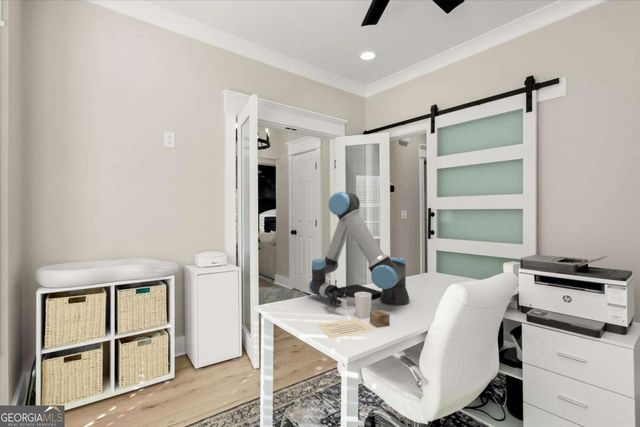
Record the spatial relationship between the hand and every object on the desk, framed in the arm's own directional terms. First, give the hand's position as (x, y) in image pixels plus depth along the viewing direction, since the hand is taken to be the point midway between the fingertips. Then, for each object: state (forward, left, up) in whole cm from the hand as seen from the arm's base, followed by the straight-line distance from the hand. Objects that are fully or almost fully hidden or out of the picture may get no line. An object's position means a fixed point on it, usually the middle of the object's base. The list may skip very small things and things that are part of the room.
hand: (357, 301), depth 146 cm
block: (-2, +16, -6) cm, 17 cm away
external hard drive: (-17, -28, -7) cm, 33 cm away
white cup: (-1, +3, -6) cm, 7 cm away
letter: (+13, +13, -6) cm, 20 cm away
